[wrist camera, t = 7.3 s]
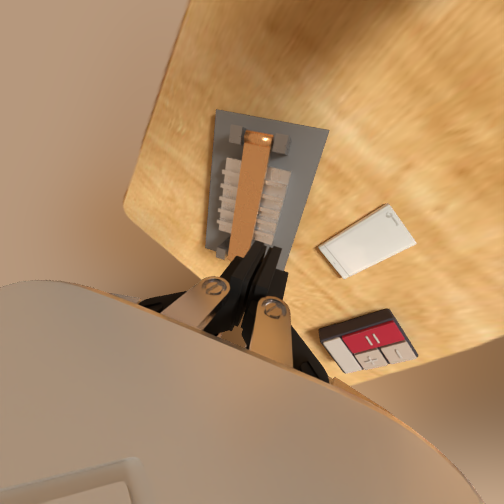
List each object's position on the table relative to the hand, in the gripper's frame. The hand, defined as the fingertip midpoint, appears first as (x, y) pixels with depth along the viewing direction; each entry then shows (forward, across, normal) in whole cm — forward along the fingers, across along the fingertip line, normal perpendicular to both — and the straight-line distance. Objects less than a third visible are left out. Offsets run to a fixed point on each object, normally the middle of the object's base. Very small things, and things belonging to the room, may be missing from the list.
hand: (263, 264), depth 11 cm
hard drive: (+25, -14, +5) cm, 29 cm away
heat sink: (+22, +6, +2) cm, 23 cm away
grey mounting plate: (+24, +6, +2) cm, 25 cm away
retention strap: (+18, +6, +2) cm, 20 cm away
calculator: (+24, -23, +25) cm, 42 cm away
